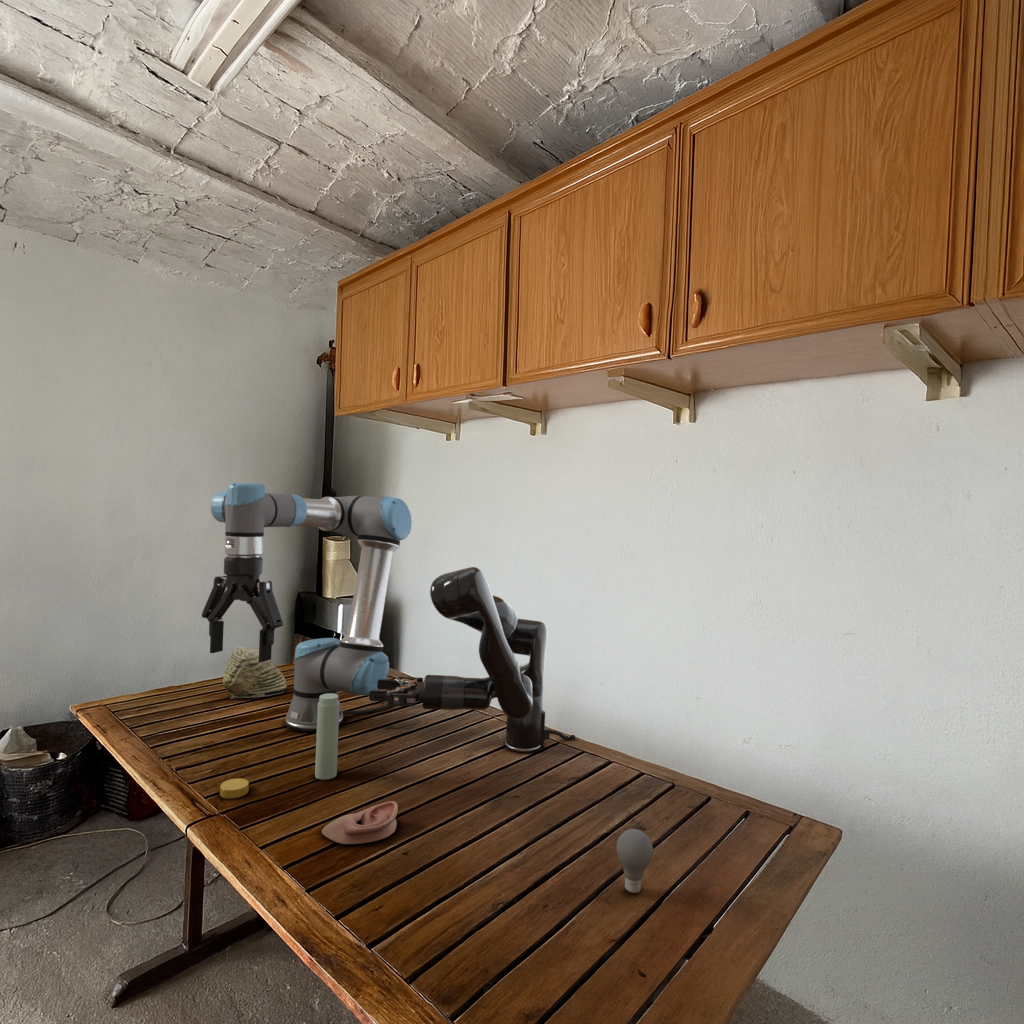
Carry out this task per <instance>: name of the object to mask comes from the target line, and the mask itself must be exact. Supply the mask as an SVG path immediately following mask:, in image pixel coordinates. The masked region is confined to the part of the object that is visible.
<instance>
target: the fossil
mask: <svg viewBox="0 0 1024 1024" xmlns="http://www.w3.org/2000/svg"><path fill="white" fill-rule="evenodd" d="M222 676H223V677H222V685H223V687H224V688H225V690H226V691H228V693H229V698H230V699H250V698H264V697H271V696H275V695H281V694H284V693H285V691H286V689H287V687H288V686H287V680H286V678H285V676H284V674H283V673H282V672H281V669H279V668H278V667H277V665H276V663H275V662H274V660H273V659H272V658H271V660H268V661H264V662H259V647H258V648H251V647H247V646H246V647H245V646H238V647H237V648H236V649H235V650H233V651H232V653H231V656H230V657H229V659H228V660H227V663H226V666H225V668H224V671H223V675H222Z"/></svg>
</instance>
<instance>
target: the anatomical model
mask: <svg viewBox="0 0 1024 1024" xmlns="http://www.w3.org/2000/svg"><path fill="white" fill-rule="evenodd" d="M398 809H399V806H398V803H397V802H396V801H393V800H392V801H391V800H390V801H385V802H381V803H378V804H376V805H372V806H370V807H368V808H365V809H363V810H360V811H358V812H355V813H350V814H344V815H342V816H340V817H338V818H336V819H334V820H332V821H331V822H329V823H327V824H326V825H325V826H323V828H322V829H321V834H322V835H323V836H324V837H325V838H327V839H328V840H331V841H333V842H335V843H337V844H341V845H357V844H358V845H359V844H367V843H372V842H377V841H380V840H384V839H385V838H388V837H389V836H391V835H392V834H393V833H395V831H396V829H397V826H398V823H397V820H396V819H397V815H398V812H399V811H398Z"/></svg>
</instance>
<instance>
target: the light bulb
mask: <svg viewBox="0 0 1024 1024" xmlns="http://www.w3.org/2000/svg"><path fill="white" fill-rule="evenodd" d="M615 849H616V854H617V857H618V859H619V861H620V863H621V865H622V867H623V873H624V874H623V875H624V876H625V878H624V888H625V890H627V891H628V892H630V893H634V894H635V893H639V892H640V891H641V889H642V887H641V886H642V879H643V877H644V875H645V871H646V868H647V867H648V866H649V864H650V863H651V861H652V859H653V855H654V847H653V843H652V841H651V838H649V836H648V835H647V834H646V833H645V832H643V831H642V830H641V829H636V828H629V829H627V830H625V831H623V832H622V833H621V834H620V835H619V837H618V839H617V841H616V847H615Z"/></svg>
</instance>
